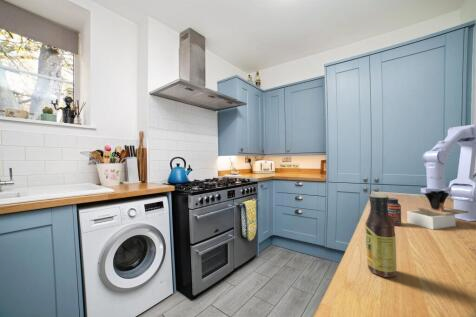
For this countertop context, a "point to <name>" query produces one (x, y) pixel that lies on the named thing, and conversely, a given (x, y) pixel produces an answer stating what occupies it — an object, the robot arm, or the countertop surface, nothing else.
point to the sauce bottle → (380, 238)
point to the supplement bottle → (394, 211)
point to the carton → (430, 219)
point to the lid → (443, 210)
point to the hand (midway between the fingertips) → (436, 208)
